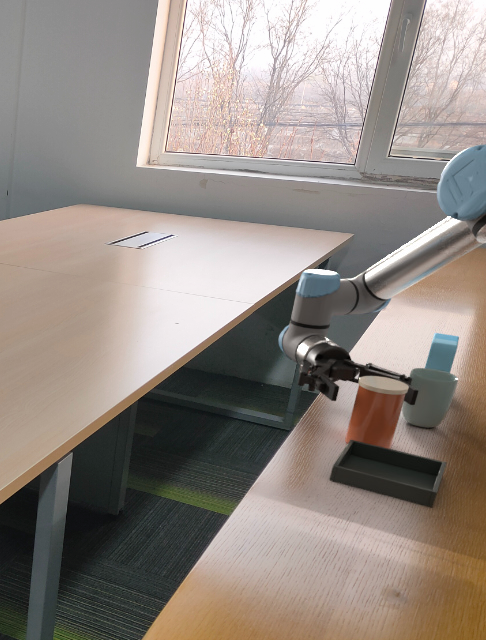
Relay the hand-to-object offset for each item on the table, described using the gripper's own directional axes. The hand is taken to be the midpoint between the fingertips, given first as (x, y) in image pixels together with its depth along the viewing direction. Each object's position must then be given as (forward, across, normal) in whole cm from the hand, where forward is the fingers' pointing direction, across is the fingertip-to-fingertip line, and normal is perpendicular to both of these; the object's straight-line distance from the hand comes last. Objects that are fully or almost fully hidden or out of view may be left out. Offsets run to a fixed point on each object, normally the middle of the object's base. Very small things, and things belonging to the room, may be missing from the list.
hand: (375, 395), depth 140 cm
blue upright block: (-31, -28, -9) cm, 43 cm away
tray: (+16, +4, -9) cm, 19 cm away
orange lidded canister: (+2, 0, -9) cm, 9 cm away
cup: (-12, -16, -9) cm, 22 cm away
